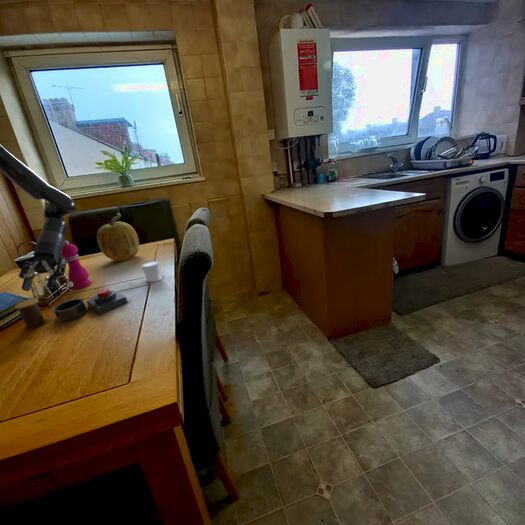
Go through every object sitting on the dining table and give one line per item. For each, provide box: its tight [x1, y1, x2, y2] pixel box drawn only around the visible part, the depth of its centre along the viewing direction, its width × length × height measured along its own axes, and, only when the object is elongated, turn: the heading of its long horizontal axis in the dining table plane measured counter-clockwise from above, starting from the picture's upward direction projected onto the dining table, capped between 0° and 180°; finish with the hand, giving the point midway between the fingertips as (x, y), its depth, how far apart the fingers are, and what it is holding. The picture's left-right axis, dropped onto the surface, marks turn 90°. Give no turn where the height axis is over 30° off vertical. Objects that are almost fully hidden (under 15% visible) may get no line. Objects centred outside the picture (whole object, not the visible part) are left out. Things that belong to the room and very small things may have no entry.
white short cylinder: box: [141, 260, 162, 283], centre depth 114 cm, size 7×7×7 cm
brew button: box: [97, 288, 110, 298], centre depth 96 cm, size 4×4×2 cm
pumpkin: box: [96, 212, 140, 262], centre depth 145 cm, size 19×19×25 cm
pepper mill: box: [61, 240, 92, 290], centre depth 115 cm, size 7×7×20 cm
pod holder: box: [52, 298, 88, 323], centre depth 92 cm, size 8×8×4 cm
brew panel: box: [86, 289, 129, 315], centre depth 97 cm, size 9×11×4 cm
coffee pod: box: [14, 297, 46, 330], centre depth 88 cm, size 6×6×8 cm
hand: (37, 289), depth 92 cm, fingers open, 8 cm apart
